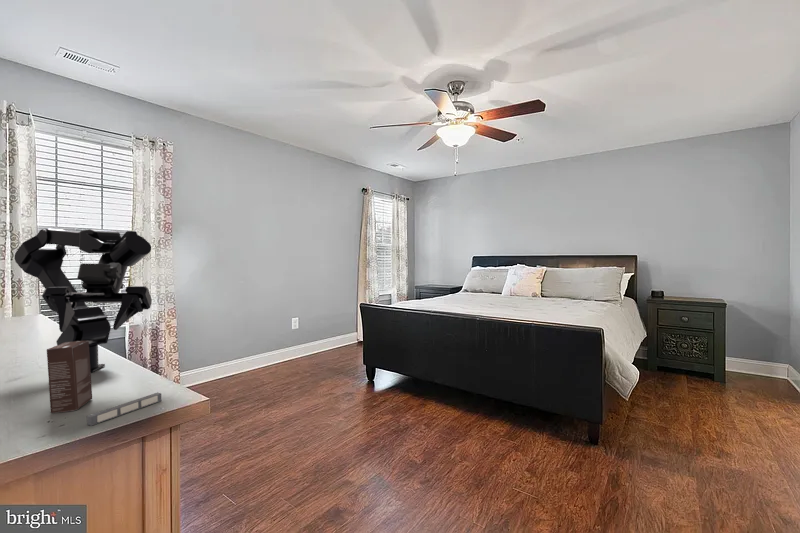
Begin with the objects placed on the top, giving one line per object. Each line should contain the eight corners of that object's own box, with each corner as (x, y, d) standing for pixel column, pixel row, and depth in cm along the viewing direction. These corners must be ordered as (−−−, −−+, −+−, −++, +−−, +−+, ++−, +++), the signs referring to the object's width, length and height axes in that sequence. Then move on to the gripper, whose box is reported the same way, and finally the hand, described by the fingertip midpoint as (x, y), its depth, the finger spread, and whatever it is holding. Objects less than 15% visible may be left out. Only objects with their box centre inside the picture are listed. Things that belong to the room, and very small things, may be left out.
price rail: (87, 424, 63) (86, 415, 63) (157, 399, 74) (157, 392, 74) (91, 425, 63) (91, 417, 63) (162, 400, 74) (161, 393, 74)
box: (65, 402, 73) (64, 341, 73) (93, 399, 75) (91, 339, 74) (46, 414, 68) (45, 348, 67) (76, 411, 69) (75, 346, 69)
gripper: (46, 249, 80) (13, 308, 70) (147, 251, 86) (131, 305, 76) (65, 283, 88) (38, 340, 77) (157, 282, 94) (143, 335, 84)
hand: (88, 329), depth 78 cm, fingers open, 9 cm apart
